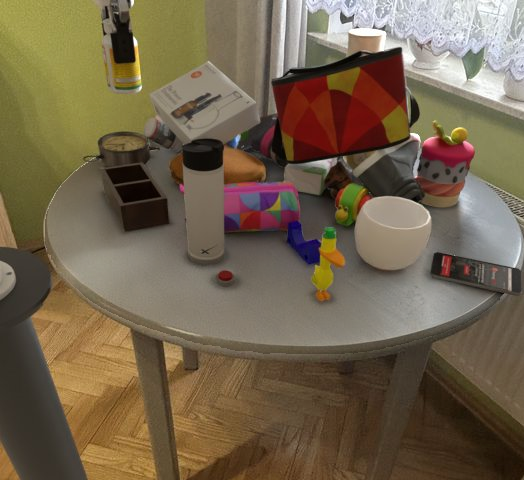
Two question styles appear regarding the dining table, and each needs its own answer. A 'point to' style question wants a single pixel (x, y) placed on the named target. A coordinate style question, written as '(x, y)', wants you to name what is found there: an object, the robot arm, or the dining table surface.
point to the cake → (444, 166)
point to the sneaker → (392, 171)
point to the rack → (135, 196)
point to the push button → (225, 278)
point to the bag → (343, 107)
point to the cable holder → (303, 244)
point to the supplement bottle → (120, 67)
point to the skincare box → (205, 106)
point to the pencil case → (259, 206)
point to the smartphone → (476, 273)
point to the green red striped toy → (350, 203)
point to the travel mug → (204, 199)
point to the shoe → (268, 145)
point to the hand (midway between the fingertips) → (120, 56)
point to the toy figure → (327, 263)
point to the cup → (391, 232)
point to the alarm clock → (123, 149)
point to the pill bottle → (162, 135)
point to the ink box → (309, 175)
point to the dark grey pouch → (256, 131)
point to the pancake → (228, 167)
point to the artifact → (337, 179)
